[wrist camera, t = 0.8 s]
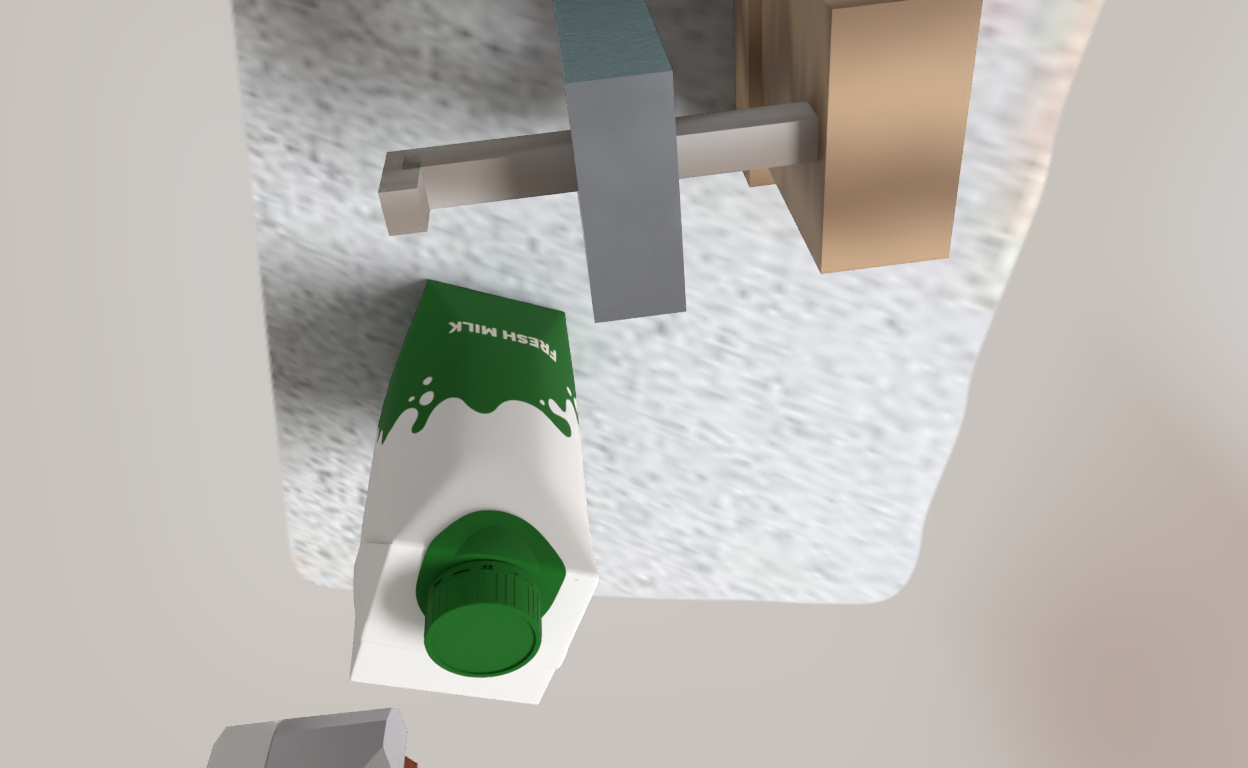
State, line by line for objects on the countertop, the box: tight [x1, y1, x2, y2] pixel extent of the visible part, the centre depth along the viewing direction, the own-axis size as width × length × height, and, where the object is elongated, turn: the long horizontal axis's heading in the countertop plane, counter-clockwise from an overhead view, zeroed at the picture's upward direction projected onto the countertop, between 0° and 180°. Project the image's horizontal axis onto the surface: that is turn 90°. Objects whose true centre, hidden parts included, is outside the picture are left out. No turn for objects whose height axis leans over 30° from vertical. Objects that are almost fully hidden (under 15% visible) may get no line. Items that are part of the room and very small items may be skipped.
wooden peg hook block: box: [378, 0, 983, 274], centre depth 36 cm, size 12×20×14 cm, turn 95°
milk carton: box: [350, 280, 599, 704], centre depth 43 cm, size 9×9×20 cm
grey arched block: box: [553, 0, 686, 323], centre depth 34 cm, size 8×3×11 cm, turn 5°
